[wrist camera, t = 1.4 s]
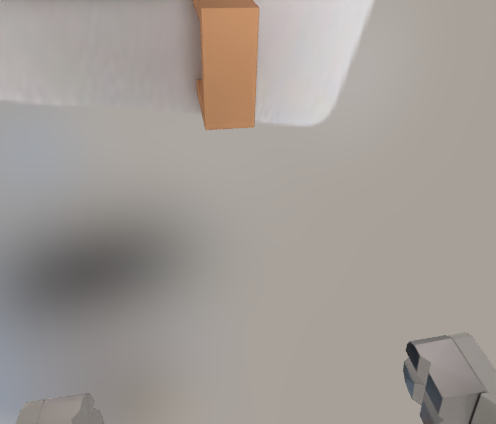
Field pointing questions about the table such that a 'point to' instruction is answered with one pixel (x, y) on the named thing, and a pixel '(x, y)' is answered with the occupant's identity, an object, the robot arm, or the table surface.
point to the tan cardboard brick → (228, 62)
